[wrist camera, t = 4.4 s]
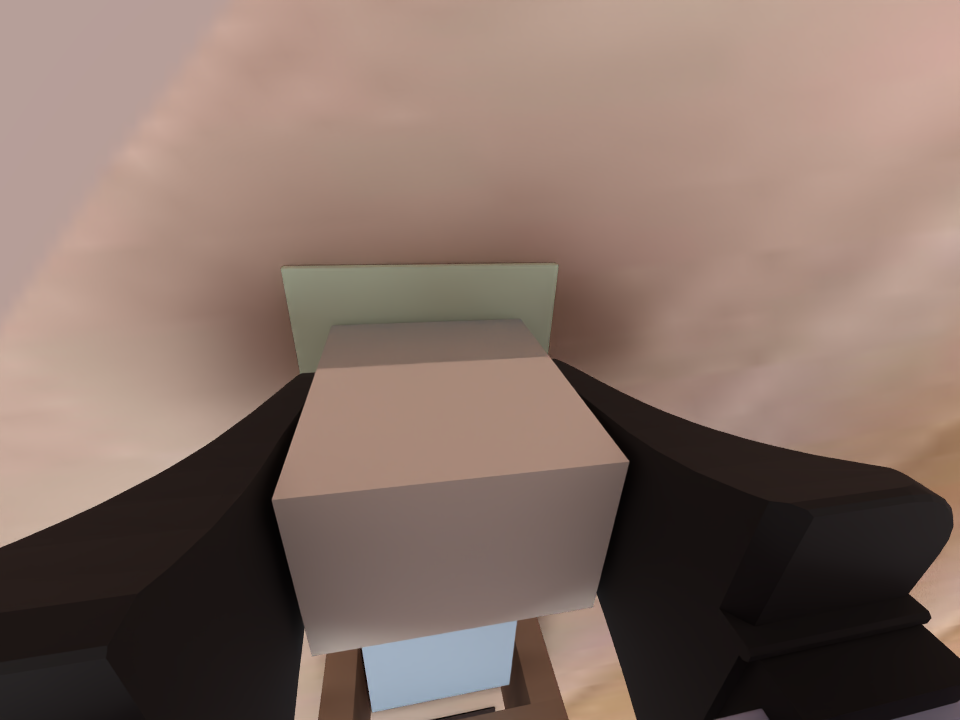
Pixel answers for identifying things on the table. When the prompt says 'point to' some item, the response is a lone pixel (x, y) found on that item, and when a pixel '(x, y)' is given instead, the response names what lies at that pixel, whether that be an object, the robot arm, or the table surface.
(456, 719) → the pad
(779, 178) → the table surface
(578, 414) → the block
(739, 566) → the robot arm
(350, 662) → the tunnel
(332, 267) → the mat
